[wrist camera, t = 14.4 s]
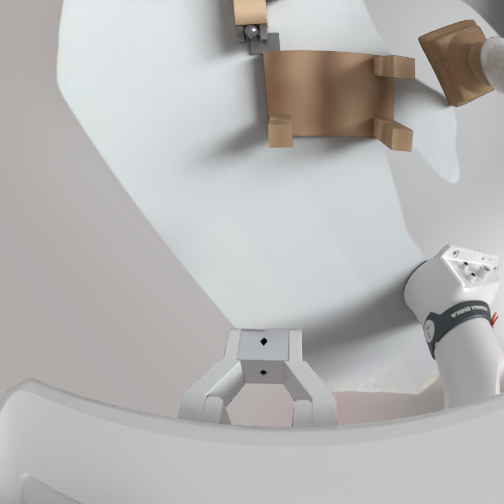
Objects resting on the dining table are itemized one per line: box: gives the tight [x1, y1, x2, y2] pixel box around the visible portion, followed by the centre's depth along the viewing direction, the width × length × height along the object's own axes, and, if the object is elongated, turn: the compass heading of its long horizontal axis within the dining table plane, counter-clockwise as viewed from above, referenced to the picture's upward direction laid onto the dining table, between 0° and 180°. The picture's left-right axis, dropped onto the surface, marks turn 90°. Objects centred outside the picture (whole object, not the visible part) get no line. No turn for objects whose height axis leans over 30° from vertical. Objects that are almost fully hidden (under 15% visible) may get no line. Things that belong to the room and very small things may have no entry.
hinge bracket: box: [244, 25, 280, 54], centre depth 28 cm, size 4×3×5 cm
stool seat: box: [263, 50, 415, 151], centre depth 29 cm, size 16×11×9 cm
